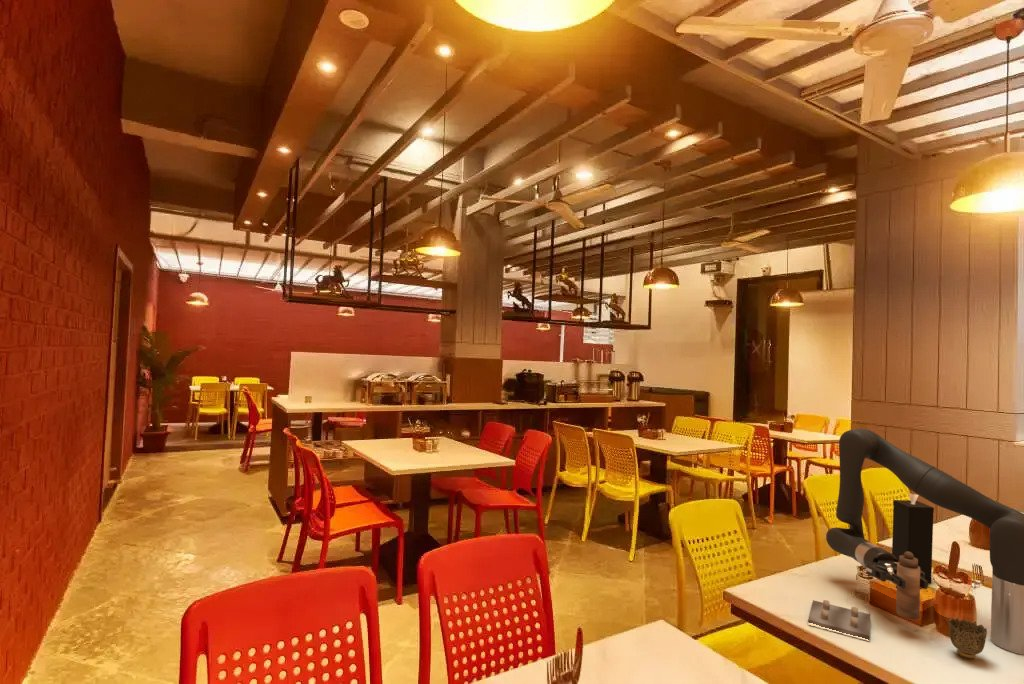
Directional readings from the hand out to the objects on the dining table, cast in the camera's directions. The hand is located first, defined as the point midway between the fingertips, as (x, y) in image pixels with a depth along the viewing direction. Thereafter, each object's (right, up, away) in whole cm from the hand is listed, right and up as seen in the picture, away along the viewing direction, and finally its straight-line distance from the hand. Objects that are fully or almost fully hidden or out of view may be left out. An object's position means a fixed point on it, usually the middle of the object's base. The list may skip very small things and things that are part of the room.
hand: (914, 584), depth 145 cm
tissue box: (+26, -15, +38) cm, 49 cm away
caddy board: (-15, -14, +8) cm, 22 cm away
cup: (+7, -15, -8) cm, 18 cm away
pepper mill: (0, -9, +3) cm, 9 cm away
